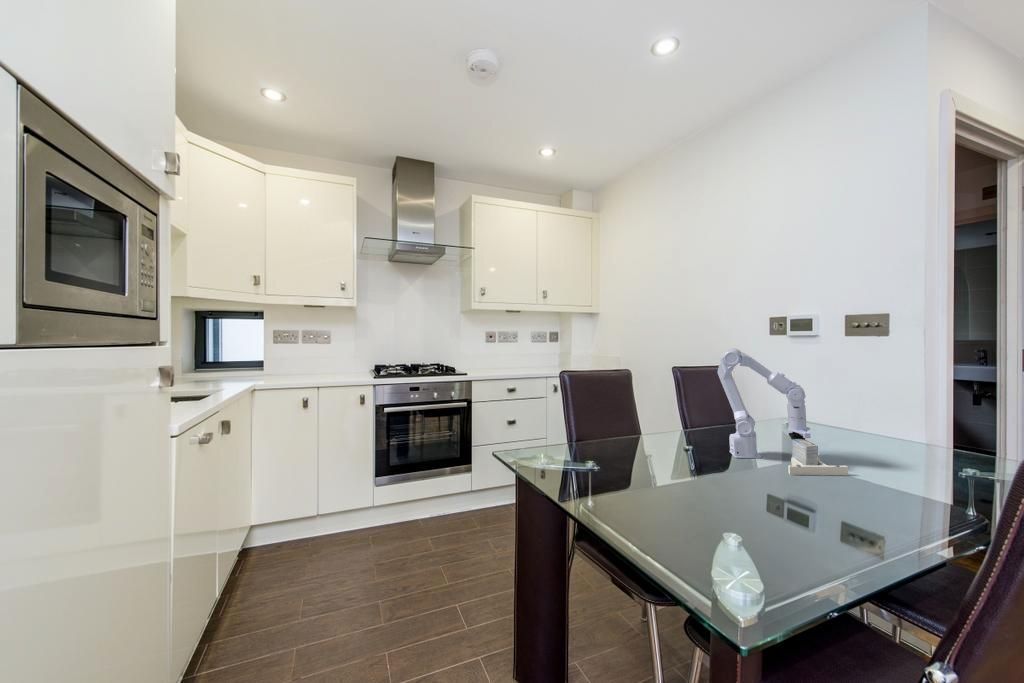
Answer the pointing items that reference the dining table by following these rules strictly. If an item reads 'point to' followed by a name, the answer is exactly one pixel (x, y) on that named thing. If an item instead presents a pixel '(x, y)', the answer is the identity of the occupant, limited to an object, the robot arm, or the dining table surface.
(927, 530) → the dining table surface
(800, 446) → the medicine box
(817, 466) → the dock
